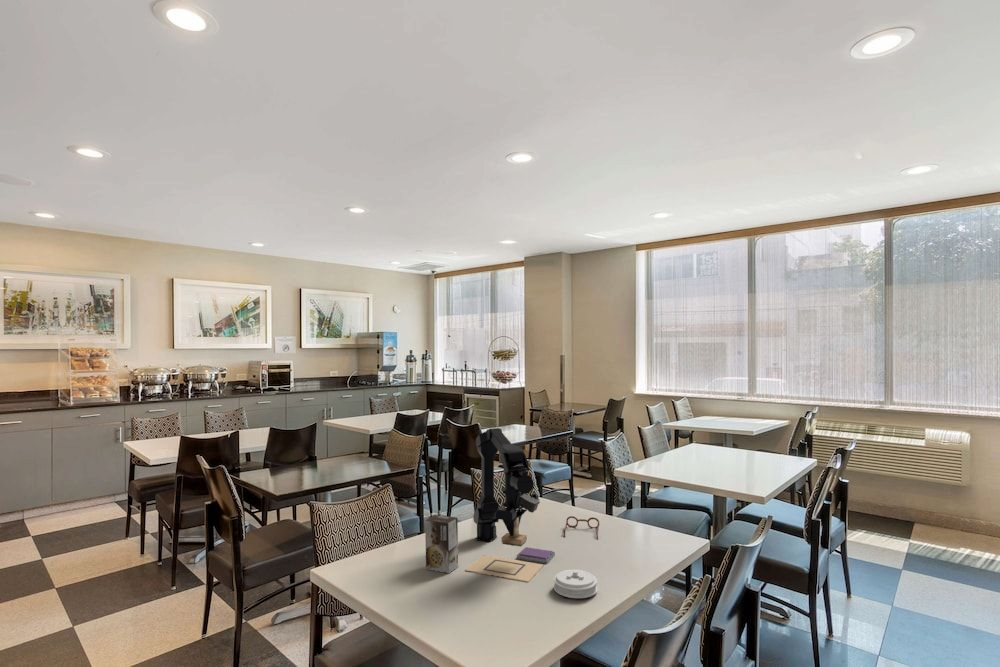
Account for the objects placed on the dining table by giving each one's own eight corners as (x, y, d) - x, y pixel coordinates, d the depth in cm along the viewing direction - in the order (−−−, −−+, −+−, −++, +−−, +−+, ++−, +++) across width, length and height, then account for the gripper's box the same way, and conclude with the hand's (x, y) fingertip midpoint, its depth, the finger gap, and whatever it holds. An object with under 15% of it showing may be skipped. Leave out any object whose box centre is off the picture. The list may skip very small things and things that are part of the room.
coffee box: (458, 566, 175) (458, 517, 176) (449, 574, 170) (448, 522, 170) (435, 562, 179) (435, 514, 180) (424, 569, 173) (424, 519, 174)
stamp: (501, 544, 176) (501, 518, 176) (507, 539, 180) (507, 514, 181) (521, 546, 173) (521, 521, 173) (526, 541, 178) (526, 516, 178)
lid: (583, 579, 165) (583, 563, 165) (605, 597, 153) (605, 579, 153) (546, 586, 160) (546, 569, 161) (566, 604, 149) (566, 586, 149)
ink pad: (516, 558, 182) (516, 554, 182) (525, 550, 189) (525, 546, 189) (547, 563, 177) (547, 558, 177) (554, 555, 185) (554, 550, 185)
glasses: (599, 529, 213) (599, 517, 213) (598, 540, 200) (598, 527, 200) (566, 527, 216) (566, 515, 216) (563, 538, 203) (563, 525, 203)
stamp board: (464, 570, 172) (464, 569, 172) (484, 555, 185) (484, 554, 185) (528, 582, 163) (528, 580, 163) (543, 565, 176) (543, 564, 176)
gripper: (526, 495, 166) (526, 546, 165) (545, 482, 183) (545, 528, 182) (493, 492, 170) (494, 542, 169) (514, 479, 187) (515, 524, 186)
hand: (513, 534), depth 177 cm, fingers closed on stamp, 3 cm apart
